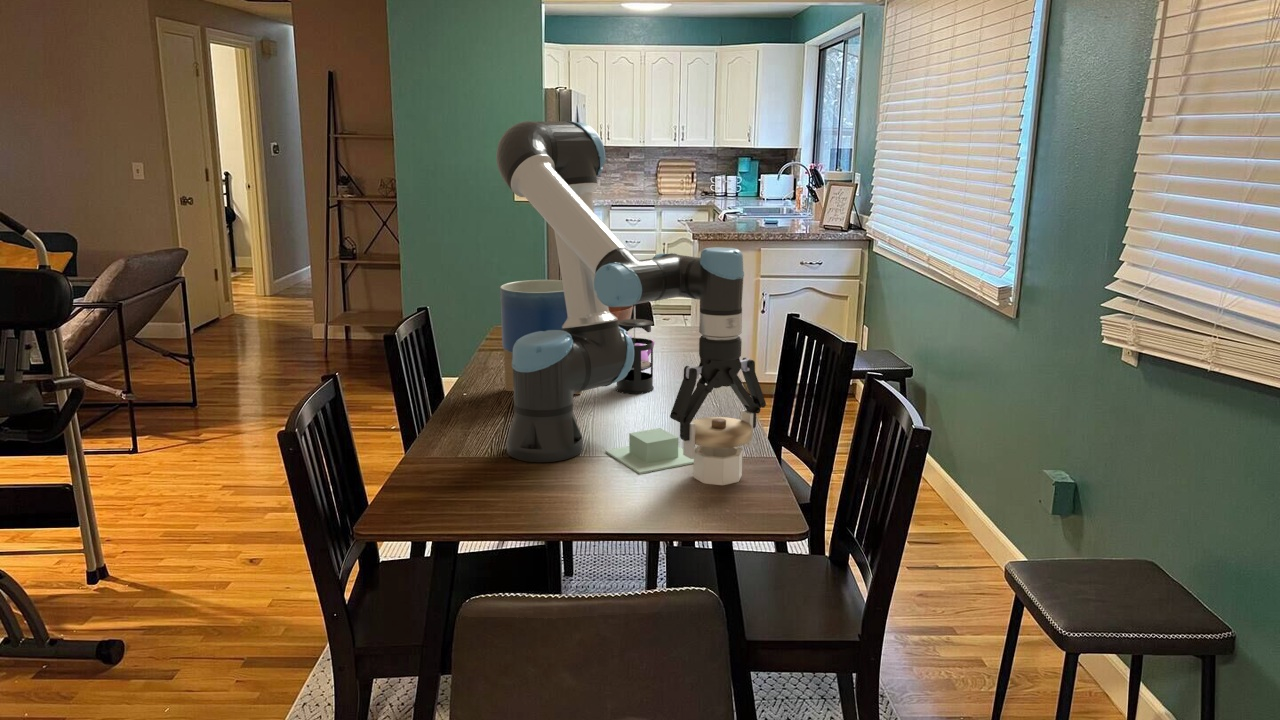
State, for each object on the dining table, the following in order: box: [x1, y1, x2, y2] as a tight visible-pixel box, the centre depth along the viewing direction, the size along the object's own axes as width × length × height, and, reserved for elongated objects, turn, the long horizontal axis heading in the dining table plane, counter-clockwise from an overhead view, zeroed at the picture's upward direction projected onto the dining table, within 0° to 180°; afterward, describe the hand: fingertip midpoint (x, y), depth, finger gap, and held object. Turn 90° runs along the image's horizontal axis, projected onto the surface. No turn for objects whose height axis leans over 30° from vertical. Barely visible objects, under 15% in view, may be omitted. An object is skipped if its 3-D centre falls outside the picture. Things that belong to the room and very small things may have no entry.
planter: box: [499, 279, 583, 395], centre depth 224 cm, size 19×19×26 cm
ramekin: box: [692, 445, 743, 486], centre depth 170 cm, size 8×8×5 cm
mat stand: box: [604, 427, 694, 475], centre depth 181 cm, size 14×14×4 cm
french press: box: [615, 304, 654, 395], centre depth 227 cm, size 12×9×23 cm
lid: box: [692, 416, 752, 448], centre depth 169 cm, size 12×12×3 cm
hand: (718, 451), depth 170 cm, fingers closed on lid, 12 cm apart
